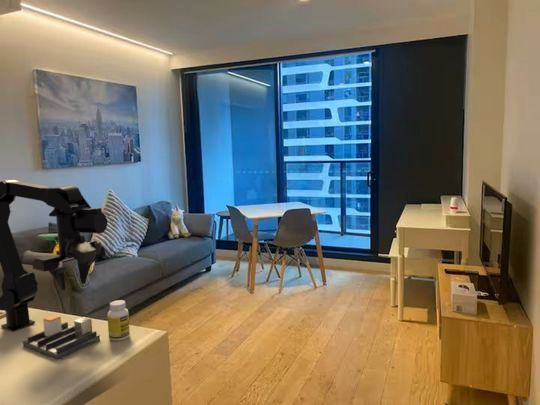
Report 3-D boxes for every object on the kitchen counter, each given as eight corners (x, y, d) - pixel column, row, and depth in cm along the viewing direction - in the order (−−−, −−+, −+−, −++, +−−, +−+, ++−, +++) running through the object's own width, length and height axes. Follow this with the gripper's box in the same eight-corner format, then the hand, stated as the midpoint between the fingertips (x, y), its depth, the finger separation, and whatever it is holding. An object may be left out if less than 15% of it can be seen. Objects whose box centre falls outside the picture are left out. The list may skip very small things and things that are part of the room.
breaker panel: (23, 346, 108) (20, 324, 107) (65, 329, 118) (63, 308, 117) (57, 360, 100) (55, 336, 100) (99, 340, 111) (98, 318, 110)
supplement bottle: (123, 342, 109) (120, 306, 108) (104, 340, 111) (102, 305, 109) (133, 333, 115) (131, 299, 113) (116, 331, 116) (113, 298, 115)
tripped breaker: (44, 335, 110) (43, 318, 110) (55, 331, 113) (53, 314, 112) (51, 338, 109) (49, 320, 108) (62, 333, 111) (60, 316, 111)
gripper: (54, 242, 101) (59, 302, 103) (116, 228, 117) (120, 281, 119) (28, 237, 107) (34, 295, 109) (91, 225, 123) (95, 276, 125)
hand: (73, 286), depth 115 cm, fingers open, 6 cm apart
